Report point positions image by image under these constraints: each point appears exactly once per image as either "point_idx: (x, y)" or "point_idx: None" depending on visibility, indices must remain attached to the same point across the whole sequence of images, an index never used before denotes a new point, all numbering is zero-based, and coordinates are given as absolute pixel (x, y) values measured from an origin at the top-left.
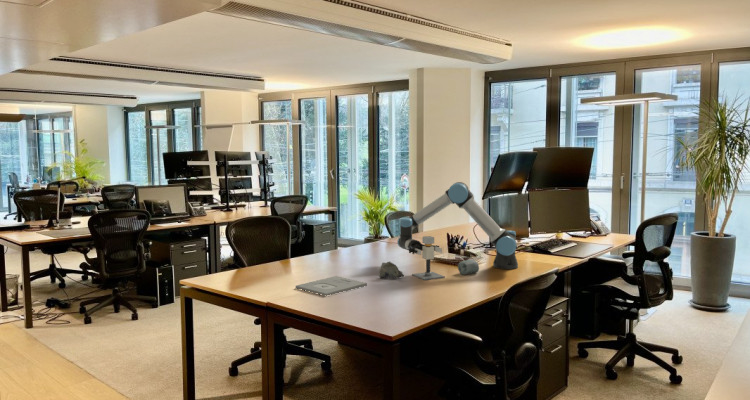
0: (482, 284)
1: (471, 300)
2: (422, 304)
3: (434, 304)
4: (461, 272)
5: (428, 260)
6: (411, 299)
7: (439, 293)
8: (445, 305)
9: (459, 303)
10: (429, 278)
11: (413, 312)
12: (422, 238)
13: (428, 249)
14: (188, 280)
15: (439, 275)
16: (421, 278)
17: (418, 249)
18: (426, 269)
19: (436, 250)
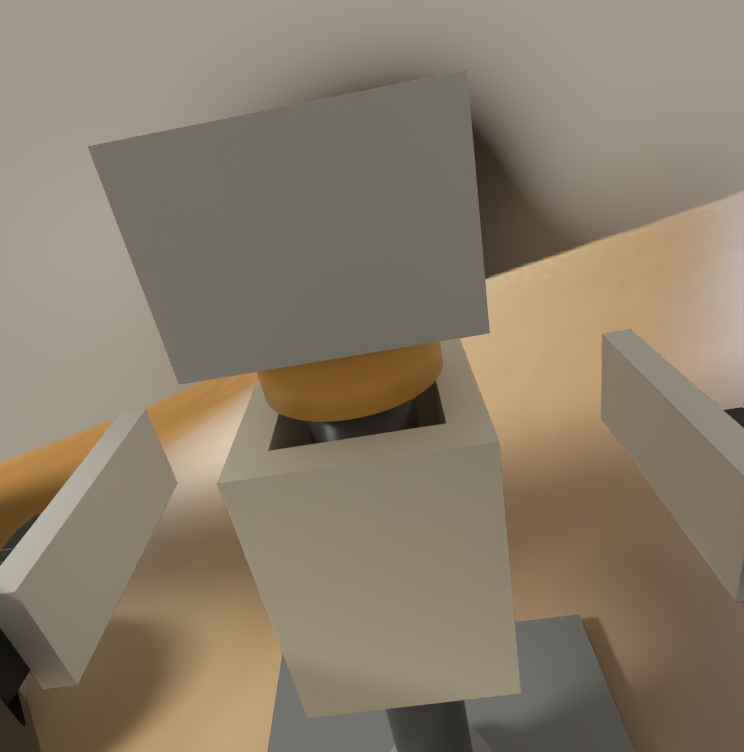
0: (200, 441)
1: None
2: (669, 276)
3: (613, 277)
4: (23, 692)
5: None
6: (728, 306)
7: (544, 353)
8: (568, 274)
9: (504, 285)
10: None
11: (714, 240)
12: (474, 160)
13: None
14: None
15: (305, 722)
16: (599, 669)
17: (665, 383)
18: (471, 743)
19: (100, 592)
